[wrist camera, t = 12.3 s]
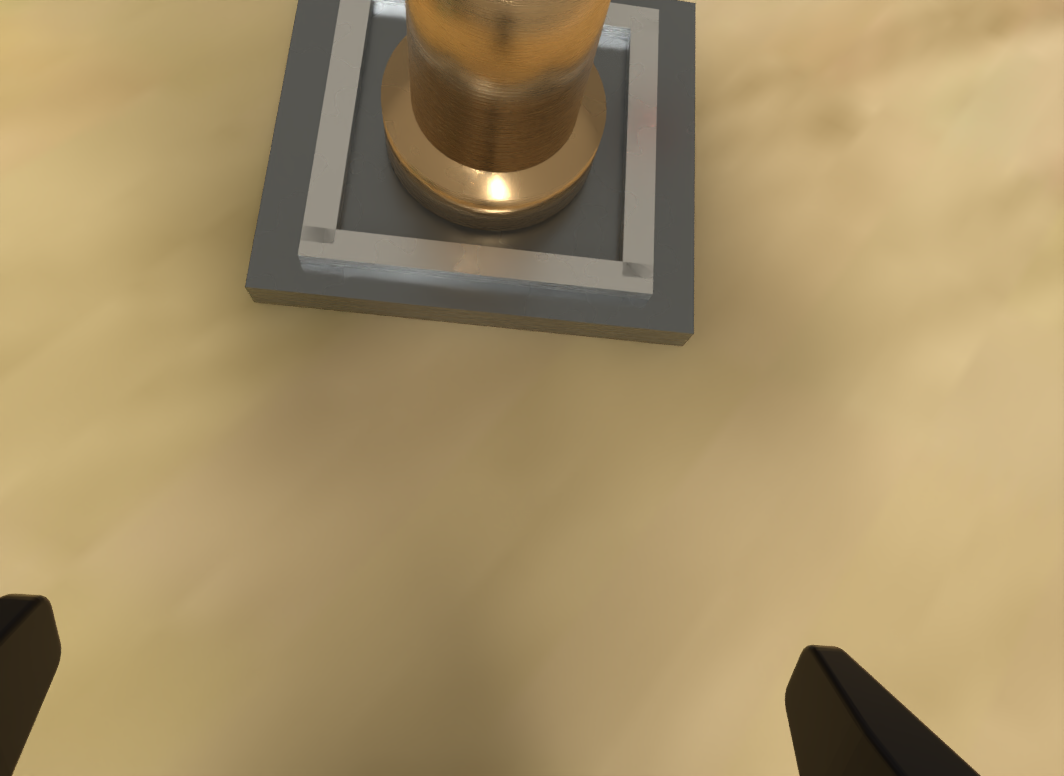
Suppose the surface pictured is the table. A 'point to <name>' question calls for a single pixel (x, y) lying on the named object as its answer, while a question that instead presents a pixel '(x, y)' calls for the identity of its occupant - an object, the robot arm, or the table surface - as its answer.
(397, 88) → the amber cylindrical piece
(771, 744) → the table surface
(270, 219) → the press bed
